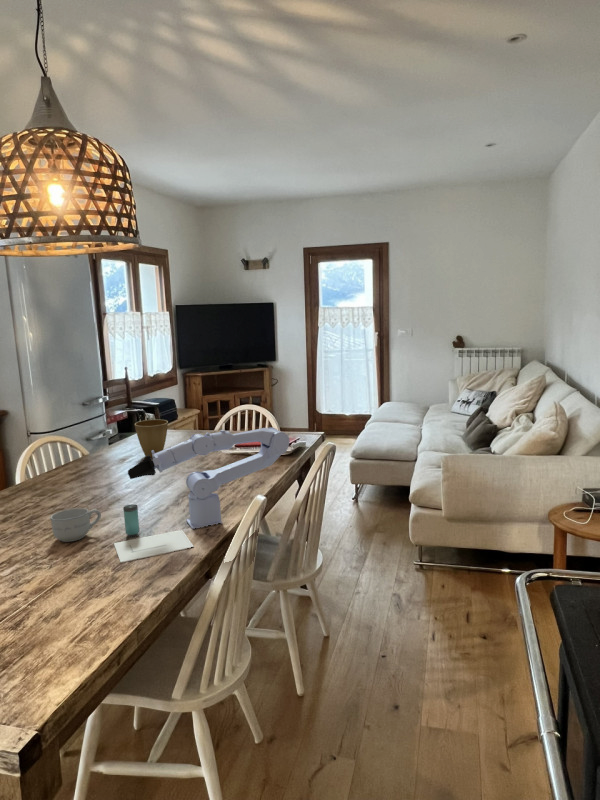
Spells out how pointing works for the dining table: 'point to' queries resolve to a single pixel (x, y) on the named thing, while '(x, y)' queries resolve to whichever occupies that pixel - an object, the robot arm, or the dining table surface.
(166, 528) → the dining table surface
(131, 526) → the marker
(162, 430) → the plant pot
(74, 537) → the teacup
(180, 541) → the paper pad
